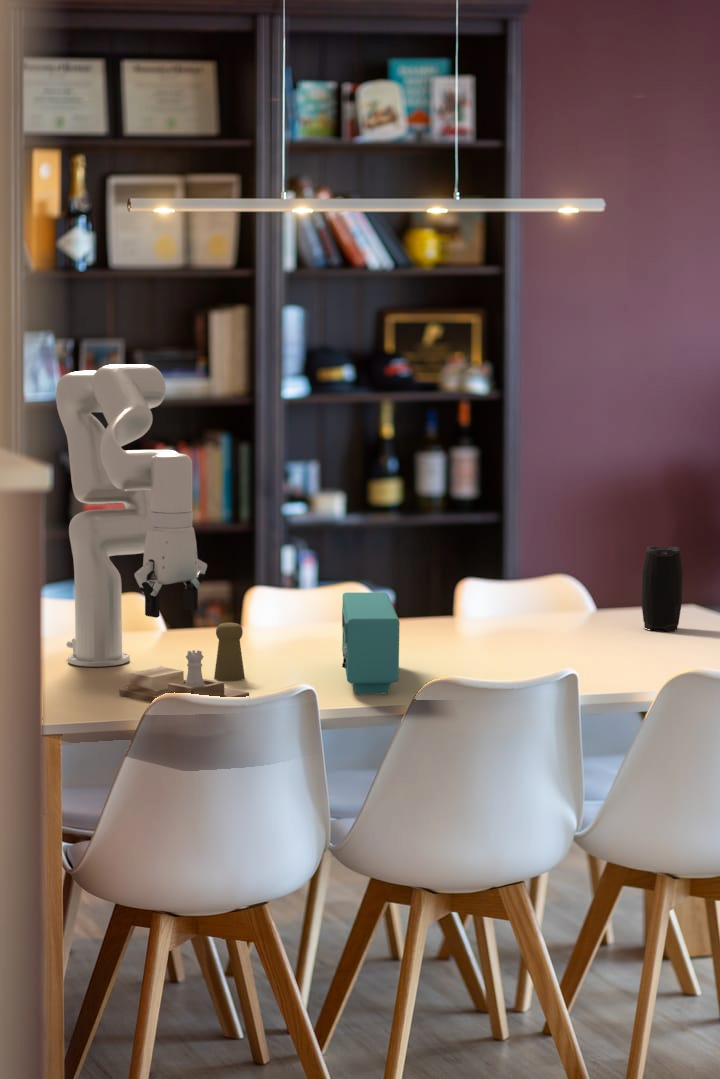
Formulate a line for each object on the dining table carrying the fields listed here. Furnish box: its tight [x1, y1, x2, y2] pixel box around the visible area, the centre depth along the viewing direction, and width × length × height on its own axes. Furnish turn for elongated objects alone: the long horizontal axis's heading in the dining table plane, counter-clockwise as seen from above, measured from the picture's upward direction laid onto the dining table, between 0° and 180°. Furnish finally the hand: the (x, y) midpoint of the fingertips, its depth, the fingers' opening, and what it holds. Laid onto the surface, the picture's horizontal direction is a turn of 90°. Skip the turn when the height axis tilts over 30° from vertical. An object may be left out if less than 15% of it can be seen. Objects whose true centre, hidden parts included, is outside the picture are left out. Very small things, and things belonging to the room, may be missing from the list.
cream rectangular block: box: [129, 666, 185, 691], centre depth 278 cm, size 6×8×3 cm
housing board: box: [118, 678, 250, 703], centre depth 275 cm, size 20×14×3 cm
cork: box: [213, 622, 246, 682], centre depth 292 cm, size 6×6×11 cm
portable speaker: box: [641, 545, 684, 632], centre depth 351 cm, size 9×9×20 cm
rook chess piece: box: [184, 649, 206, 687], centre depth 271 cm, size 4×4×8 cm
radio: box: [341, 592, 401, 695], centre depth 291 cm, size 34×10×15 cm, turn 2°
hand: (171, 613), depth 274 cm, fingers open, 9 cm apart
